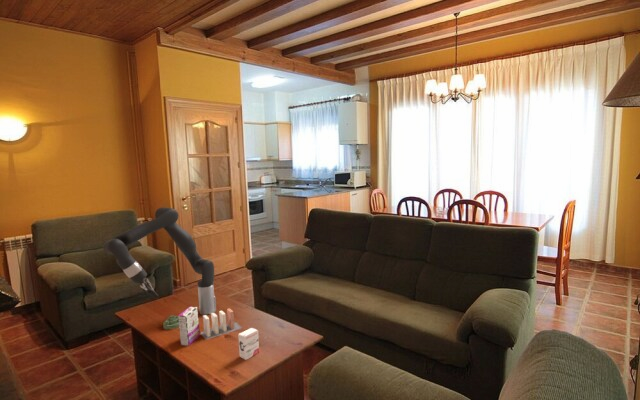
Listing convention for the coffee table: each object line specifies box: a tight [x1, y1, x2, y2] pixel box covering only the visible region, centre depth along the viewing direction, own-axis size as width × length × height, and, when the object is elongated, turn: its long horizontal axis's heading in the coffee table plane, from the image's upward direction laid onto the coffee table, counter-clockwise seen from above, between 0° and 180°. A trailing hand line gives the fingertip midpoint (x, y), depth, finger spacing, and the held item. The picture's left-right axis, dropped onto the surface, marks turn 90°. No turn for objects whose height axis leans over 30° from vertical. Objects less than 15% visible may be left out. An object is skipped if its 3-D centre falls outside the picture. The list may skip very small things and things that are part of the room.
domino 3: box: [218, 310, 227, 332], centre depth 201 cm, size 2×6×10 cm, turn 35°
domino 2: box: [210, 312, 219, 334], centre depth 198 cm, size 2×6×10 cm, turn 35°
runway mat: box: [200, 321, 243, 341], centre depth 201 cm, size 20×10×1 cm, turn 125°
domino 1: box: [202, 314, 211, 337], centre depth 196 cm, size 2×6×10 cm, turn 35°
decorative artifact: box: [163, 314, 179, 331], centre depth 209 cm, size 10×7×10 cm
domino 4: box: [226, 307, 235, 329], centre depth 204 cm, size 2×6×10 cm, turn 35°
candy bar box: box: [177, 306, 201, 346], centre depth 190 cm, size 11×5×16 cm, turn 168°
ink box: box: [237, 327, 260, 361], centre depth 176 cm, size 8×5×12 cm, turn 140°
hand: (156, 297), depth 188 cm, fingers closed
